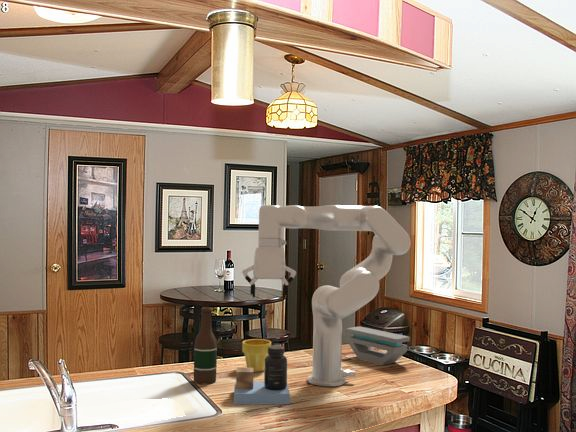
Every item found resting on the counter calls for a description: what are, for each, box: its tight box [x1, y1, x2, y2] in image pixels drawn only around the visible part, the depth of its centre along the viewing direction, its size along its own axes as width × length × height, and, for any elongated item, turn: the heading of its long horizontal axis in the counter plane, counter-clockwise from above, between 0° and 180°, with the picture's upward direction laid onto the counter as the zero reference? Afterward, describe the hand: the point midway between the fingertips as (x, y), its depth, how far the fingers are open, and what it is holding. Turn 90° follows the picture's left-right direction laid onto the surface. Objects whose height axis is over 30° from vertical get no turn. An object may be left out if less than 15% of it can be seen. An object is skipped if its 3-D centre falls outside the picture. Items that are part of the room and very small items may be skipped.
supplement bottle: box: [263, 345, 288, 390], centre depth 166 cm, size 7×7×12 cm
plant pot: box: [241, 338, 272, 373], centre depth 198 cm, size 10×10×10 cm
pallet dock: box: [233, 381, 291, 405], centre depth 166 cm, size 16×12×3 cm
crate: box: [235, 367, 255, 389], centre depth 166 cm, size 5×5×5 cm
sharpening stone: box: [345, 325, 411, 366], centre depth 214 cm, size 25×8×11 cm, turn 41°
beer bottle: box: [193, 306, 218, 385], centre depth 181 cm, size 8×8×24 cm
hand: (268, 297), depth 178 cm, fingers open, 9 cm apart
